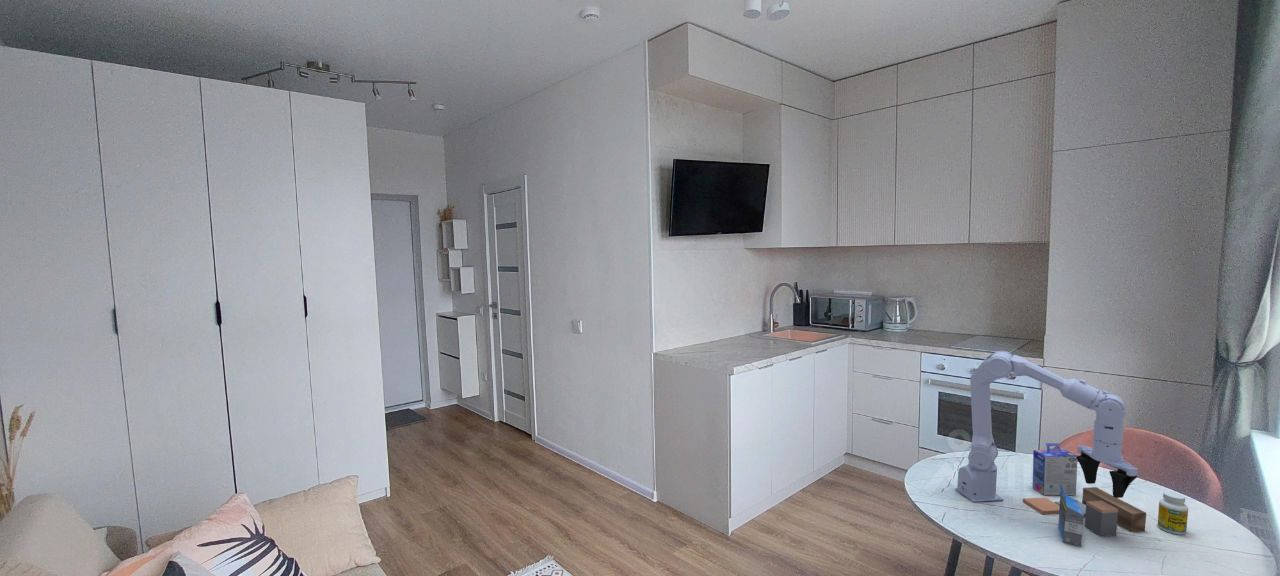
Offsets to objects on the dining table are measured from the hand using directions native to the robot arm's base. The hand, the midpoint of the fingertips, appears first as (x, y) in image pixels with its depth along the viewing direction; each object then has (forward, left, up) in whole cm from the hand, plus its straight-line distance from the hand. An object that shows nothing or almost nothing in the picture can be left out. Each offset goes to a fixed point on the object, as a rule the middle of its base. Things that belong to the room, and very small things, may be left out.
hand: (1103, 489), depth 137 cm
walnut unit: (+8, +4, -10) cm, 13 cm away
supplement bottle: (+17, -3, -11) cm, 20 cm away
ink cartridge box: (+4, +19, -11) cm, 22 cm away
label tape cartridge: (-12, -3, -11) cm, 16 cm away
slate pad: (+1, +8, -10) cm, 13 cm away
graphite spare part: (-2, -2, -10) cm, 11 cm away
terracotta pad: (-6, +11, -10) cm, 16 cm away
